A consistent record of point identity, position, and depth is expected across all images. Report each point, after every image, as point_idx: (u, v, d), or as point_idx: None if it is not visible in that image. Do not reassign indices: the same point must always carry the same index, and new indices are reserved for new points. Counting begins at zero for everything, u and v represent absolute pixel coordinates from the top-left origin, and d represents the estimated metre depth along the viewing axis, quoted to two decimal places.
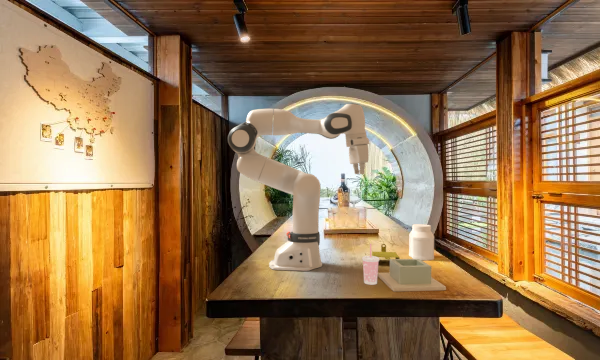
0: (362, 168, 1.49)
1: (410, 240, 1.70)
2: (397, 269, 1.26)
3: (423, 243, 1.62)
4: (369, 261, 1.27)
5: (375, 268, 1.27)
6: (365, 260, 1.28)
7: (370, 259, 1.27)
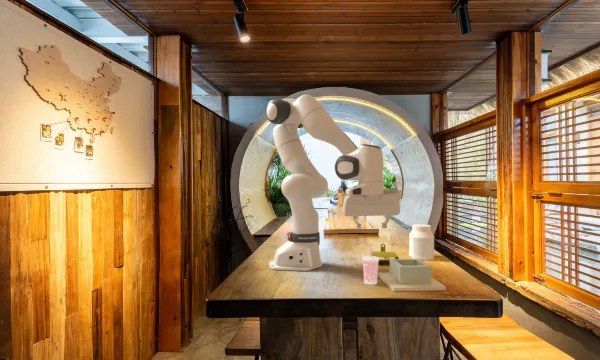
0: (355, 222, 1.29)
1: (410, 240, 1.70)
2: (397, 269, 1.26)
3: (423, 243, 1.62)
4: (369, 261, 1.27)
5: (375, 268, 1.27)
6: (365, 260, 1.28)
7: (370, 259, 1.27)
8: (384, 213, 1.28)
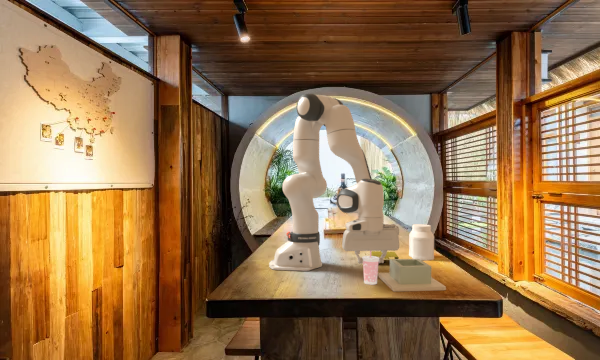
0: (357, 256, 1.29)
1: (410, 240, 1.70)
2: (397, 269, 1.26)
3: (423, 243, 1.62)
4: (369, 261, 1.27)
5: (375, 268, 1.27)
6: (365, 260, 1.28)
7: (370, 259, 1.27)
8: (383, 248, 1.28)
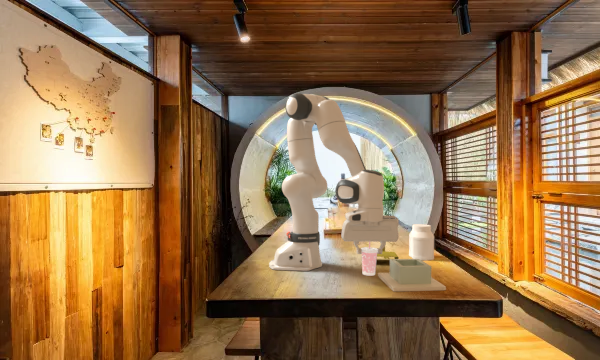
0: (356, 247, 1.29)
1: (410, 240, 1.70)
2: (397, 269, 1.26)
3: (423, 243, 1.62)
4: (368, 252, 1.27)
5: (374, 259, 1.28)
6: (364, 251, 1.28)
7: (369, 250, 1.28)
8: (382, 239, 1.28)
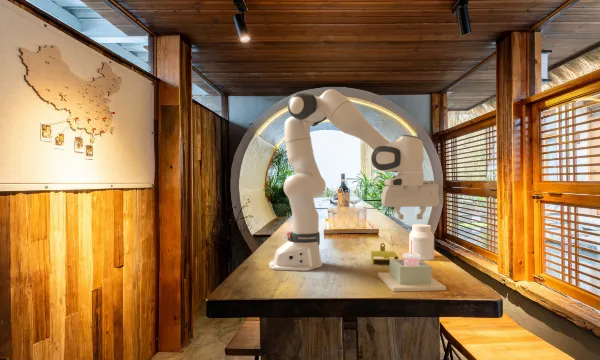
0: (397, 212, 1.29)
1: (410, 240, 1.70)
2: (397, 269, 1.26)
3: (423, 243, 1.62)
4: (410, 258, 1.27)
5: (416, 265, 1.27)
6: (406, 257, 1.28)
7: (411, 256, 1.27)
8: (423, 204, 1.28)
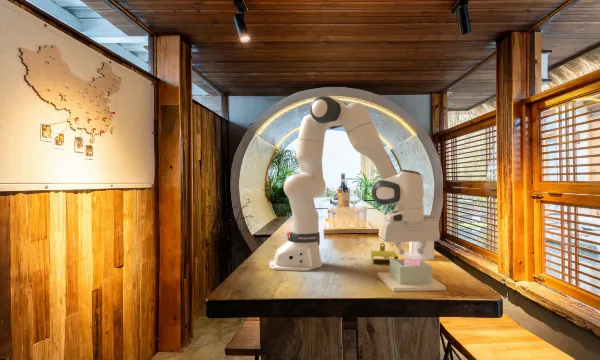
0: (398, 247, 1.29)
1: None
2: (397, 269, 1.26)
3: None
4: (411, 257, 1.27)
5: None
6: (407, 256, 1.28)
7: (412, 256, 1.27)
8: (424, 239, 1.28)
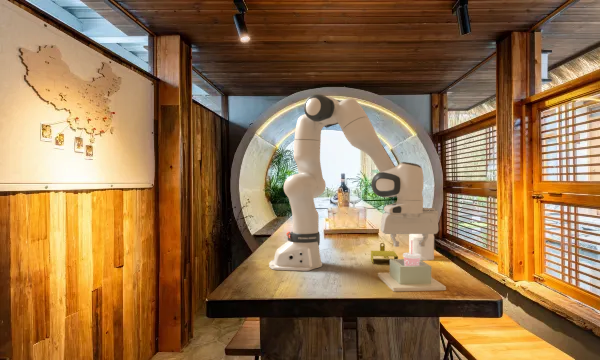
0: (393, 239, 1.29)
1: (410, 240, 1.70)
2: (397, 269, 1.26)
3: None
4: (411, 257, 1.27)
5: None
6: (406, 256, 1.28)
7: (411, 256, 1.28)
8: (423, 232, 1.28)
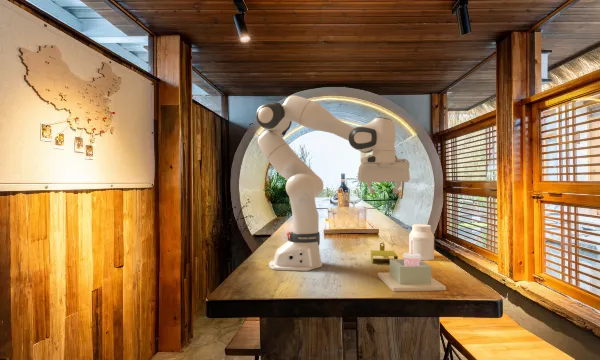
0: (369, 187, 1.43)
1: (410, 240, 1.70)
2: (397, 269, 1.26)
3: (423, 243, 1.62)
4: (411, 257, 1.27)
5: None
6: (406, 256, 1.28)
7: (412, 256, 1.28)
8: (395, 180, 1.42)
